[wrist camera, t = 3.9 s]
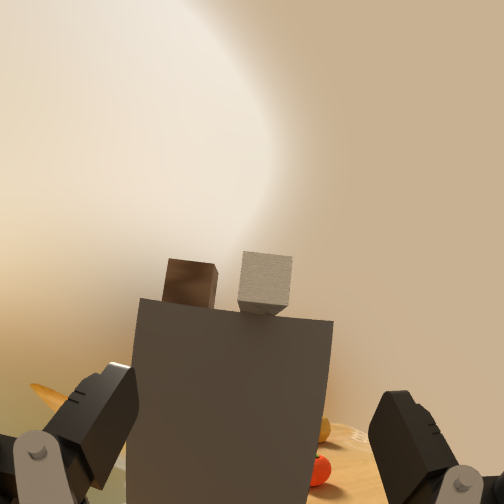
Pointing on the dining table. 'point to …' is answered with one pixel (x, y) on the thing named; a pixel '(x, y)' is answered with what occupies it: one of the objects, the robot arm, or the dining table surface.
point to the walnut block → (190, 283)
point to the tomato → (320, 471)
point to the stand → (225, 406)
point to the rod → (264, 283)
